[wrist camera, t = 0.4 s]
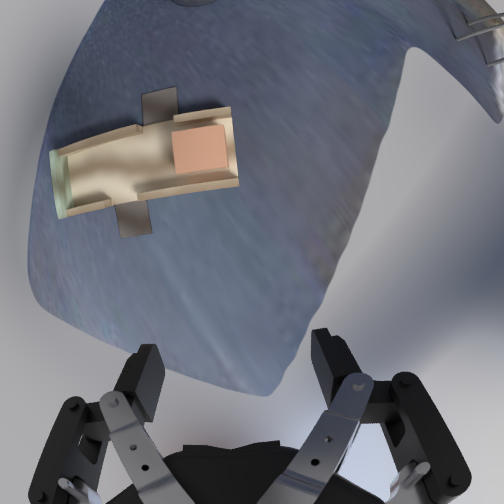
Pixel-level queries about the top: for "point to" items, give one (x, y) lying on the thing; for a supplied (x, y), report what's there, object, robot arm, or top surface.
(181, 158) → the block
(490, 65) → the citrus juicer
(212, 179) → the box
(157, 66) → the top surface
